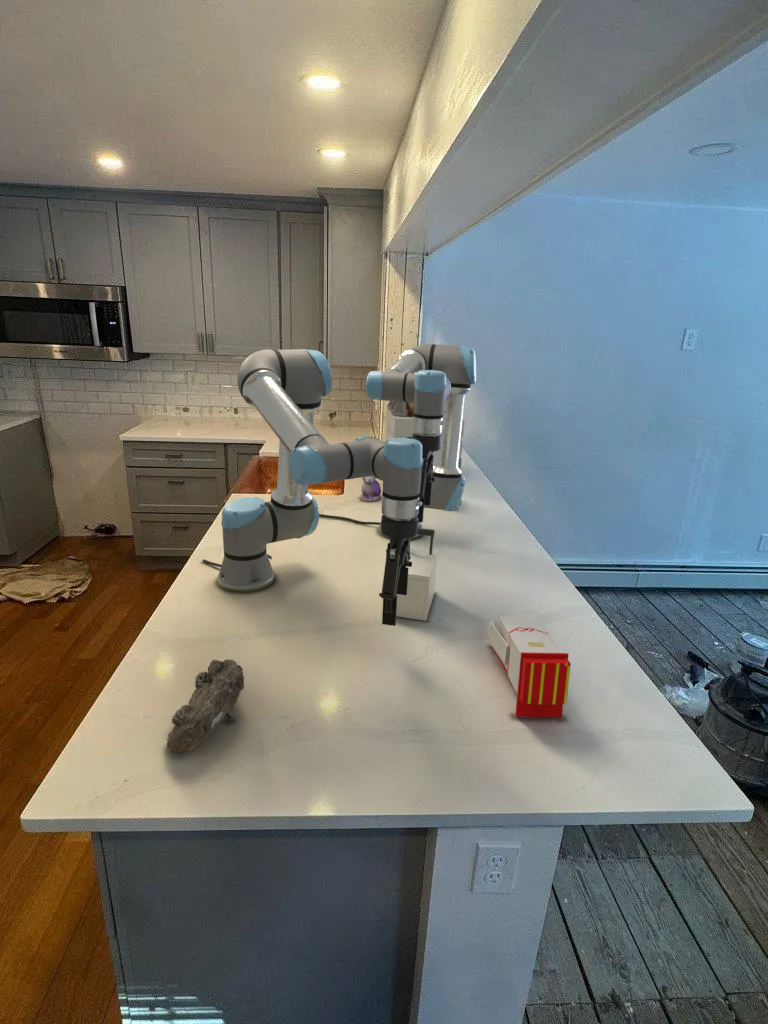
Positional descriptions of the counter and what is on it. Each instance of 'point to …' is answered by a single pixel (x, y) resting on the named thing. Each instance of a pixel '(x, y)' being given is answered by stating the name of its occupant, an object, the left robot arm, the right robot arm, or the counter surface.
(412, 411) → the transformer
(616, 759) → the counter surface
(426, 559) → the lid
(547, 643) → the toy
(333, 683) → the counter surface
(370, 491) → the figurine
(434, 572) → the white open box
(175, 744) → the fossil
